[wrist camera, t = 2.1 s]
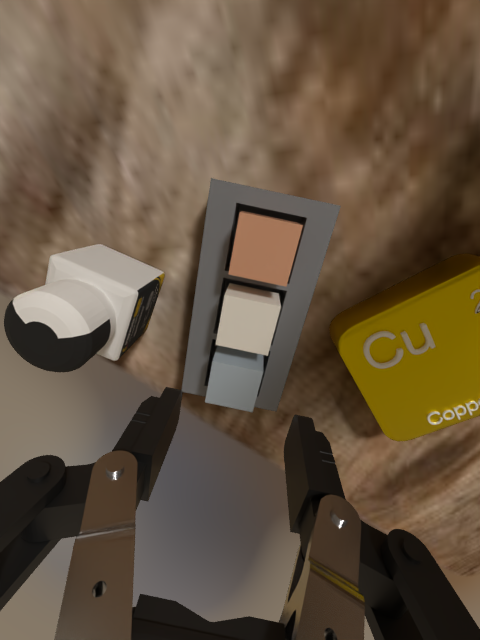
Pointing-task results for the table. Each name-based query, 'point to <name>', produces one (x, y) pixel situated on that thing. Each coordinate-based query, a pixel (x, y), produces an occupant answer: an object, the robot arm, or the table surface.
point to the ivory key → (248, 319)
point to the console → (255, 281)
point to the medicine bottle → (83, 309)
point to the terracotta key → (264, 248)
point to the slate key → (234, 378)
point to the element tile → (417, 349)
